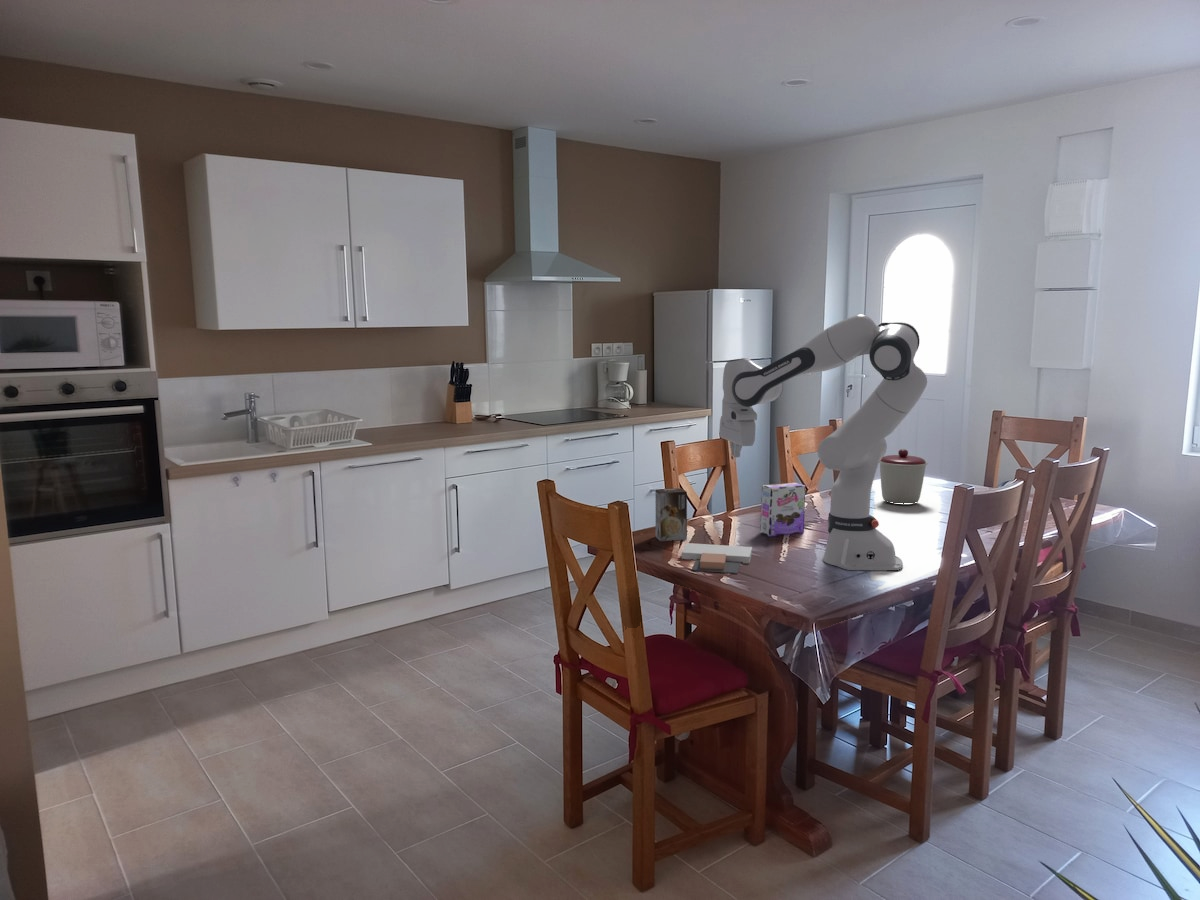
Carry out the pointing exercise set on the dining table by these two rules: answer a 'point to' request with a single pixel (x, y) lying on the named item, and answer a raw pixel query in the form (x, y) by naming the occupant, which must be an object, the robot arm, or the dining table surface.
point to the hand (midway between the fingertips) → (735, 456)
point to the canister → (902, 477)
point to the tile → (713, 561)
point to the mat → (729, 568)
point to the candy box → (782, 509)
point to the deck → (717, 552)
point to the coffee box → (671, 514)
